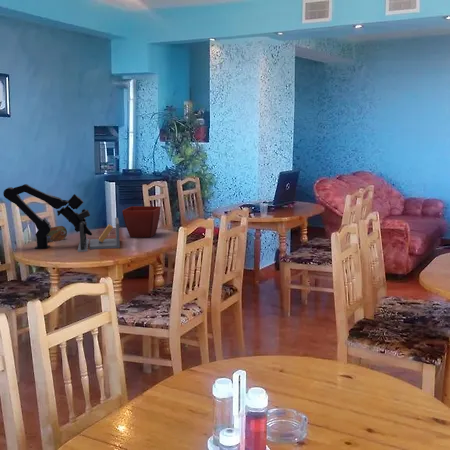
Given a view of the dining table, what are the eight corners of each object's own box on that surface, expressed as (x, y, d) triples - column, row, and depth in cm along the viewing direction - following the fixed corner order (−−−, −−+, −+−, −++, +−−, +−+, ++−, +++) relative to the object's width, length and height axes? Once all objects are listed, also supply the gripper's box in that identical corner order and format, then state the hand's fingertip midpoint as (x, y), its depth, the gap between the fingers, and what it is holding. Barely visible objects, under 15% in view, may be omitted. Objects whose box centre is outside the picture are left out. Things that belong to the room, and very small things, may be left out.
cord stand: (77, 252, 322) (76, 223, 320) (80, 241, 353) (79, 215, 351) (87, 251, 323) (86, 223, 321) (89, 240, 354) (88, 215, 352)
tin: (46, 243, 348) (45, 228, 346) (43, 242, 350) (42, 228, 348) (67, 239, 359) (66, 225, 358) (64, 238, 361) (63, 224, 360)
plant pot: (122, 238, 360) (121, 210, 357) (131, 232, 379) (131, 206, 376) (154, 239, 357) (153, 210, 355) (161, 233, 376) (161, 206, 373)
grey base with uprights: (89, 249, 328) (88, 224, 326) (90, 241, 349) (89, 218, 347) (119, 248, 331) (118, 223, 329) (118, 240, 352) (117, 217, 350)
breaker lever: (97, 241, 337) (109, 225, 336) (97, 240, 341) (108, 223, 341) (101, 244, 337) (112, 227, 337) (101, 242, 342) (112, 226, 342)
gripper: (80, 207, 325) (101, 227, 329) (81, 203, 343) (101, 222, 347) (65, 221, 325) (87, 241, 329) (67, 217, 343) (88, 235, 347)
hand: (91, 234), depth 338 cm, fingers closed
